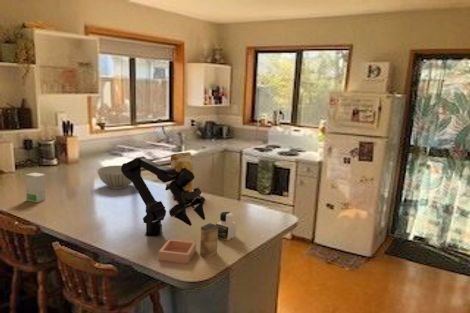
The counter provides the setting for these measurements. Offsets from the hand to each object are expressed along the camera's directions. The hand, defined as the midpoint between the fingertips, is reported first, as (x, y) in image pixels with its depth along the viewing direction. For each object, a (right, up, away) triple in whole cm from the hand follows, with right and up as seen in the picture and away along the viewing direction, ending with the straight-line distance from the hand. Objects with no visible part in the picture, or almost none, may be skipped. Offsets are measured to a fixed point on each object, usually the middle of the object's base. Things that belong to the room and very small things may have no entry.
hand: (197, 222), depth 156 cm
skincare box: (-100, +3, +55) cm, 114 cm away
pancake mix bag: (-19, +3, +80) cm, 83 cm away
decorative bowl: (-64, +8, +92) cm, 112 cm away
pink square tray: (-8, -13, -4) cm, 16 cm away
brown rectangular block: (+5, -13, -1) cm, 14 cm away
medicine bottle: (+11, -10, +18) cm, 24 cm away
